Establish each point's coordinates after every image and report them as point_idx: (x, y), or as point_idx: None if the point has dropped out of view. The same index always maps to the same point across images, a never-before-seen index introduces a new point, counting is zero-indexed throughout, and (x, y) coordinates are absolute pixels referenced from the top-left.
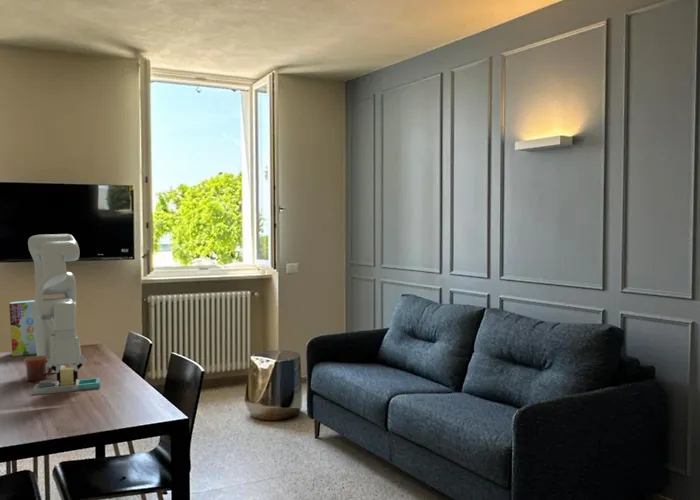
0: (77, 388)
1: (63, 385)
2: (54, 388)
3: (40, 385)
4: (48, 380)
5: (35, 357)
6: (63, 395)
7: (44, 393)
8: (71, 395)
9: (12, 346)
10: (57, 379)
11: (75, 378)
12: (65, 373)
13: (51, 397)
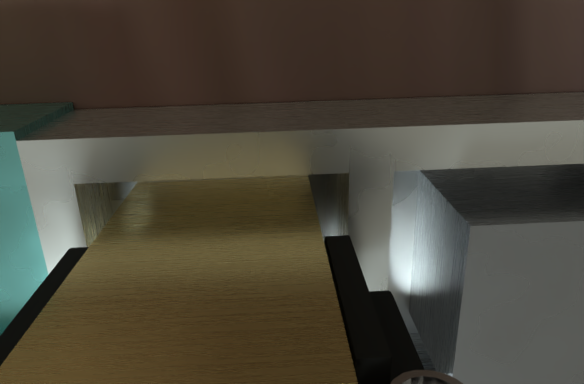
0: (60, 124)
1: (272, 202)
2: (401, 119)
3: None
4: (518, 359)
5: None
6: (264, 66)
7: (519, 103)
8: (152, 22)
9: None
10: (382, 298)
11: None
12: (213, 328)
13: (415, 14)
